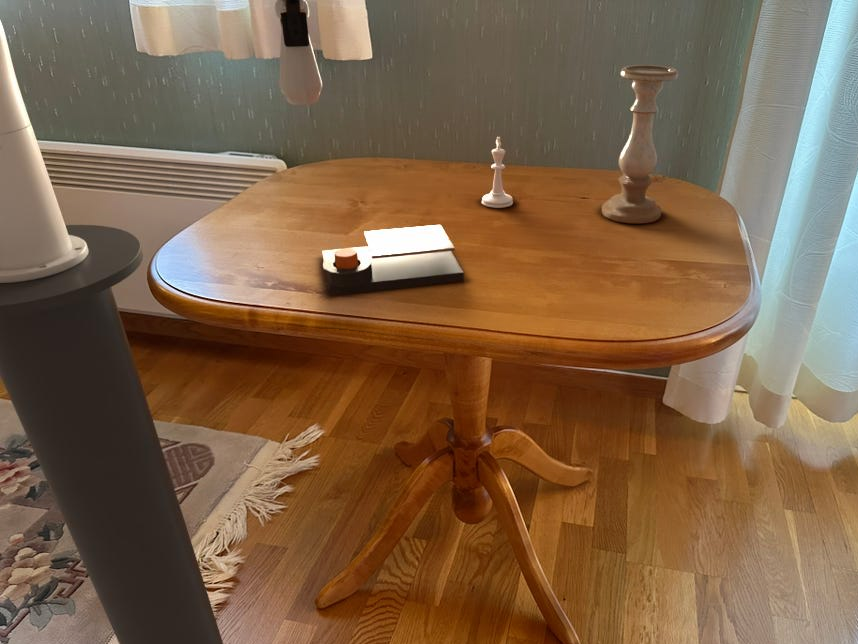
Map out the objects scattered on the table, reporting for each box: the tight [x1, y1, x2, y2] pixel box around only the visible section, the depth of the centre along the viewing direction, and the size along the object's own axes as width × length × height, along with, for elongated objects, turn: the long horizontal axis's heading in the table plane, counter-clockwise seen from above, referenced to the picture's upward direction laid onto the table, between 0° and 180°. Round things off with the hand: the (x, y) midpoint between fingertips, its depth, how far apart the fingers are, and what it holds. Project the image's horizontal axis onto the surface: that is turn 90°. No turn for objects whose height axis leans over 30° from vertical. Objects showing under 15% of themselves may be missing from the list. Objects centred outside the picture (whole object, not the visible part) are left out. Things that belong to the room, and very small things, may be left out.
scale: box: [321, 245, 465, 297], centre depth 83 cm, size 16×12×3 cm
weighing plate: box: [363, 224, 456, 259], centre depth 84 cm, size 10×8×1 cm
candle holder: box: [601, 64, 679, 224], centre depth 96 cm, size 9×9×20 cm
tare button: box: [334, 247, 358, 269], centre depth 78 cm, size 3×3×2 cm
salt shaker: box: [274, 0, 323, 106], centre depth 92 cm, size 6×6×13 cm
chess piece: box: [481, 136, 514, 209], centre depth 103 cm, size 5×5×10 cm
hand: (295, 42), depth 92 cm, fingers closed on salt shaker, 4 cm apart
